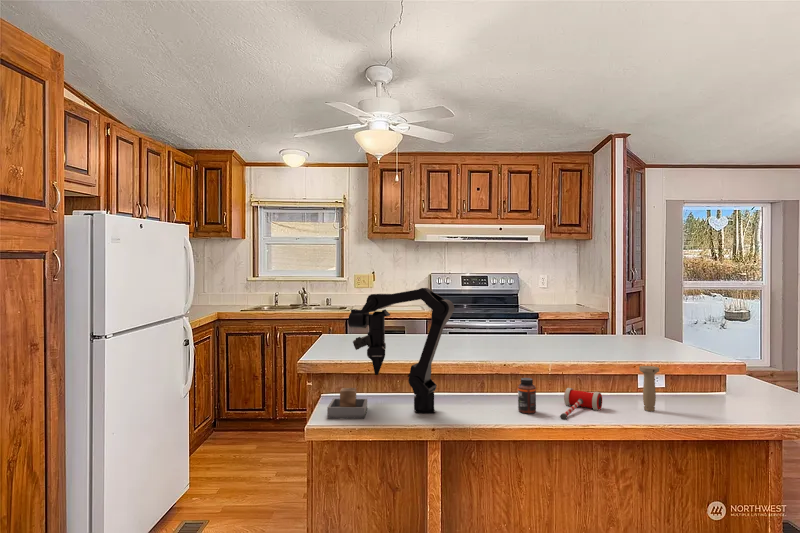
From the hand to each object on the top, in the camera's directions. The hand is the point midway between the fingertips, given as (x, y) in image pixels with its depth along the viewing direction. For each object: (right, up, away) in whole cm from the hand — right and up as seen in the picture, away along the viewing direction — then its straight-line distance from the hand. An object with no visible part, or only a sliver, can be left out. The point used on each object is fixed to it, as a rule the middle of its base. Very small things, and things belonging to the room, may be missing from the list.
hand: (376, 372), depth 178 cm
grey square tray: (-9, -12, -11) cm, 18 cm away
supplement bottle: (+52, -12, -8) cm, 54 cm away
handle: (+95, -12, -6) cm, 96 cm away
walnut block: (-9, -11, -11) cm, 18 cm away
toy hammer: (+70, -13, -6) cm, 71 cm away
